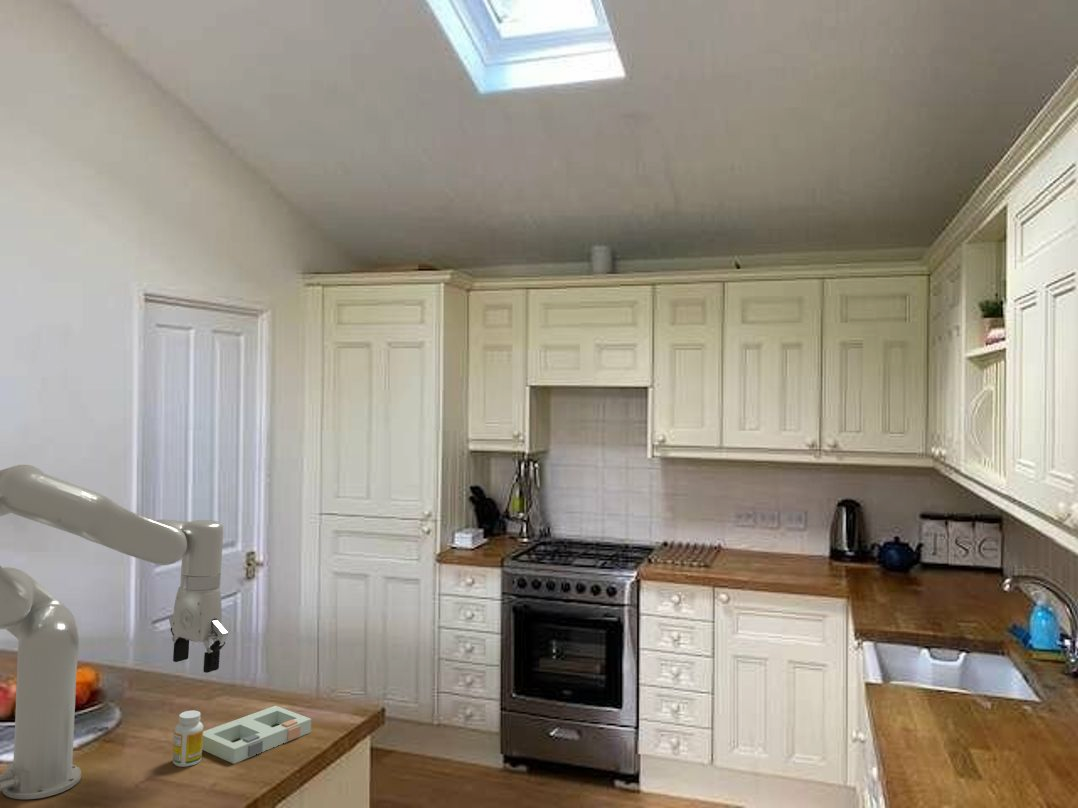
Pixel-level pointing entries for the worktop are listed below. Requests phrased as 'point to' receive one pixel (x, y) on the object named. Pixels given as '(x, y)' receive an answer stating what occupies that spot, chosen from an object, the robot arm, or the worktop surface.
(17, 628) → the robot arm
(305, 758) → the worktop surface
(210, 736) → the socket board
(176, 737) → the supplement bottle
